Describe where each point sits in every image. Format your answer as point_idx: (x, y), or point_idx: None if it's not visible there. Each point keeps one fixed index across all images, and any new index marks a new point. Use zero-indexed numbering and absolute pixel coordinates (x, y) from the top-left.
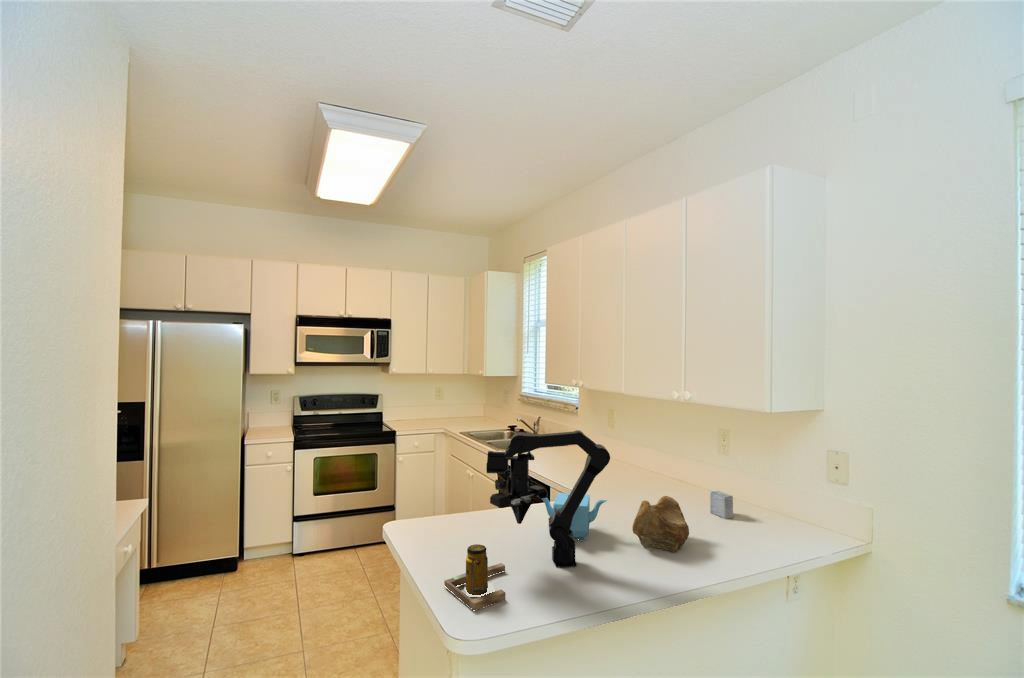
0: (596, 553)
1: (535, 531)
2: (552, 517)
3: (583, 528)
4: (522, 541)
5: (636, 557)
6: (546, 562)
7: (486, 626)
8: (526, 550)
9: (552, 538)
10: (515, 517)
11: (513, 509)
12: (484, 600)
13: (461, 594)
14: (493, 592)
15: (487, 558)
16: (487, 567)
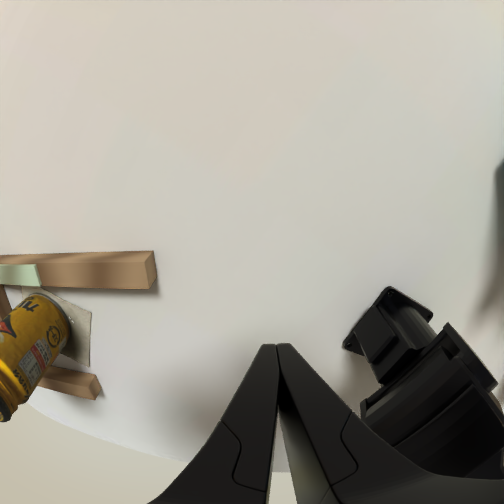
0: (485, 316)
1: (488, 47)
2: (446, 447)
3: None
4: (410, 64)
5: (494, 366)
6: (349, 295)
7: (56, 410)
8: (369, 149)
9: (368, 412)
10: (241, 384)
11: (199, 476)
12: (50, 388)
13: None
14: (69, 384)
15: (26, 399)
16: (38, 382)
